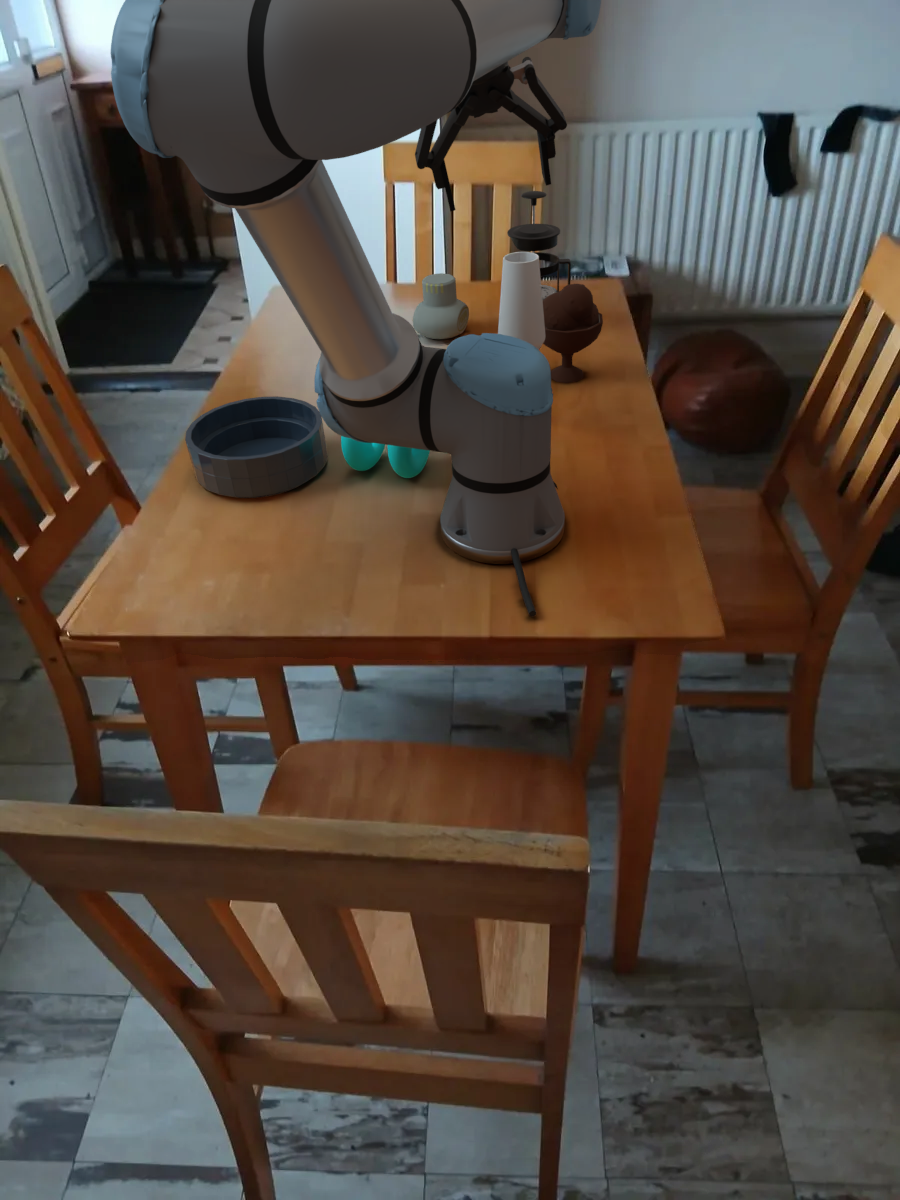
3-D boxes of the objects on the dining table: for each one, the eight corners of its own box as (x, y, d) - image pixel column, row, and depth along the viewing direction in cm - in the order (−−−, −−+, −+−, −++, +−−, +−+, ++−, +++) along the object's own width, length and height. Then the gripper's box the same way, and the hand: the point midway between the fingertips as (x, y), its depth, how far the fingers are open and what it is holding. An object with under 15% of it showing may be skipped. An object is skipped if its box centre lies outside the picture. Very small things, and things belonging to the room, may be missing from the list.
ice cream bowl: (598, 361, 149) (603, 270, 140) (600, 390, 140) (605, 295, 131) (534, 361, 150) (535, 271, 141) (533, 390, 142) (533, 296, 132)
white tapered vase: (532, 407, 137) (532, 246, 122) (552, 425, 132) (555, 259, 117) (492, 417, 135) (487, 254, 120) (511, 436, 130) (508, 268, 115)
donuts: (373, 448, 129) (365, 384, 123) (437, 457, 126) (432, 392, 120) (342, 482, 122) (332, 415, 116) (409, 493, 119) (402, 425, 113)
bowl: (314, 502, 119) (306, 458, 115) (178, 502, 120) (166, 460, 116) (338, 435, 133) (332, 395, 129) (217, 437, 135) (208, 397, 131)
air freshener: (454, 347, 157) (451, 290, 151) (410, 344, 159) (405, 287, 153) (472, 324, 165) (470, 269, 159) (430, 321, 167) (426, 267, 161)
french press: (504, 338, 159) (501, 201, 145) (503, 319, 166) (501, 186, 152) (570, 336, 158) (574, 198, 144) (566, 316, 166) (570, 183, 151)
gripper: (568, -9, 107) (581, 152, 125) (368, 49, 110) (409, 199, 128) (581, 22, 104) (592, 184, 122) (374, 82, 106) (415, 232, 124)
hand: (498, 192), depth 125 cm, fingers open, 13 cm apart
